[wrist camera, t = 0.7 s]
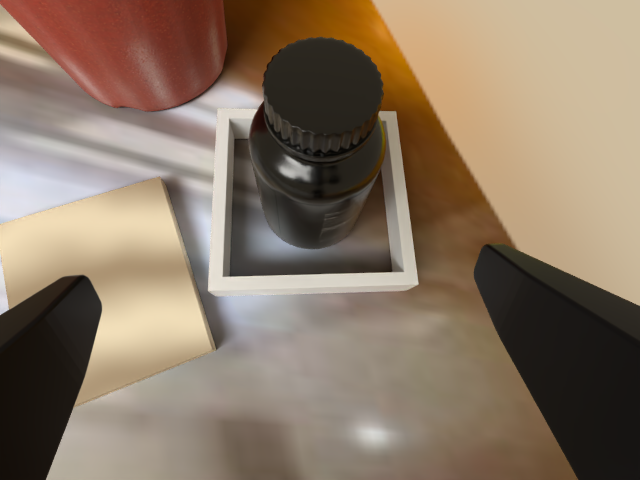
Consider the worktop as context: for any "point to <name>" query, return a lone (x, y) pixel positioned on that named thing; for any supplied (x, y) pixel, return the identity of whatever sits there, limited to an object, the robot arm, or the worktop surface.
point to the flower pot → (131, 46)
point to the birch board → (116, 280)
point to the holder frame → (400, 278)
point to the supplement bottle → (317, 140)
